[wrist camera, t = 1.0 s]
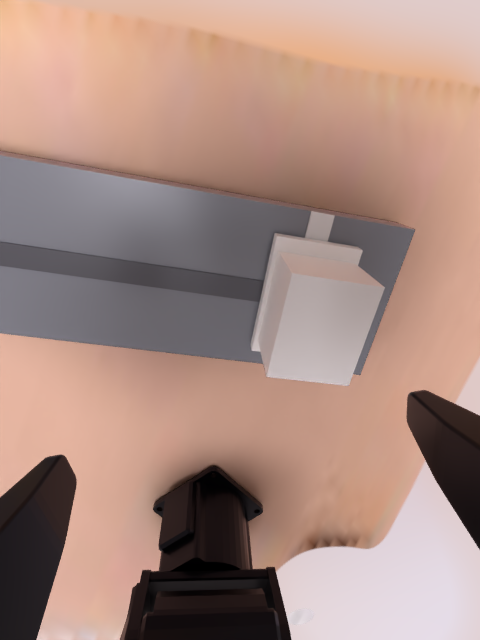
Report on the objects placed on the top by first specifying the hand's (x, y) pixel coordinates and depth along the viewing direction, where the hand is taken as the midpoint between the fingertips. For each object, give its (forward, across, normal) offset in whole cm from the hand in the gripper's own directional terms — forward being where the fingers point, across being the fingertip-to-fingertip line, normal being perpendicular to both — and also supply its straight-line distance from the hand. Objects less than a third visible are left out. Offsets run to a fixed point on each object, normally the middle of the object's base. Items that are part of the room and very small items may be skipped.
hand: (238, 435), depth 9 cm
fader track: (+13, +4, -2) cm, 14 cm away
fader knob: (+11, -4, +1) cm, 11 cm away
